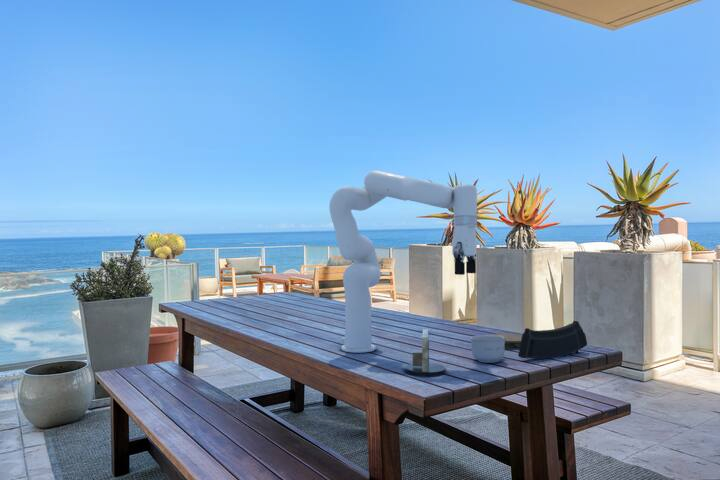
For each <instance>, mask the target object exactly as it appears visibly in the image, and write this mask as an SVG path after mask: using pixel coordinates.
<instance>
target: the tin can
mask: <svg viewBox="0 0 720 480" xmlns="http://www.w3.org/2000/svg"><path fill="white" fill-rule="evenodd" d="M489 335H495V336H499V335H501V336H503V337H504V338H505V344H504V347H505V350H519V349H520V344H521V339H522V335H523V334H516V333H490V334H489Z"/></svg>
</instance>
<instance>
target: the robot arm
mask: <svg viewBox="0 0 720 480" xmlns="http://www.w3.org/2000/svg"><path fill="white" fill-rule="evenodd" d="M363 185H364V186H362V187H356V186H353V185H352V186H351V185H344V186H340V187H338V189H336V190H335V191H334V193H332V196H331V198H330V200H329V206H328V207H329V215H330V218H331V222H332V225H333V228H334V229H333V230H334V234H335V237H336V242H337V246H338V250H339V254H340V256H341V257H342V258H343V259H344V260H346V261H353V262H354V263H352V264H349V265H348V266H347V267H346V268H345V269H344V271H343V274H342V284H343V289H344V290H343V291H344V307H345V308H344V309H345V314H344V315H345V316H344V317H345V319H344V320H345V324H344V325H345V326H344V327H345V330H344V331H345V334H344V336H343V337H341V341H342V342H344V344H343V345H341V346H340V349H341V351H342V352H345V353H353V354H355V353H357V354H362V353H363V354H364V353H371V352H374V351H375V350H377V349H376V348H377V346H376V345H374V344H372V297H371V292H370V288H372V287H375V286H377V285H378V284H379V282H380V281H381V268H380V264H379V259H378V257H377V253H376V249H375V246H374V243H373V242H372V240H371V239H370V238H369V237H367V236H366V235H362V234H360V232H359V228H358V224H357V220H356V218H355V217H354V215H353V212H352V211H358V212H359V211H360V212H361V211H365V210H368V209H370V208H371V207H374V206H375V205H376V204H378V203H379V202H381V201H383V200H384V199H386V198H387V197H388V198H391V199H396V200H400V201H410V202H415V203H419V204H424V205H428V206H432V207H436V208H440V209H451V208H453V233H452V235H453V236H452V247H451V249H452V251H451V252H452V253H451V254H452V255H453V258H454V260H453V261H454V275H458V276H464V275H465V273H466V274H477V251H478V249H477V230H476V227H478V193H477V192H478V190H477V186H476V185H474V184H466V183H465V184H457V185H455V186H448V185H445V184H443V183H442V184H441V183H438V182H433V181H429V180H423V179H419V178H414V177H411V176H408V175H403V174H398V173H393V172H388V171H385V170H378V169H373V170H370V171H368V172H366V174H365V176H364V179H363ZM465 258H466V261H465ZM464 261H465V262H464ZM465 271H466V272H465Z"/></svg>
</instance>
